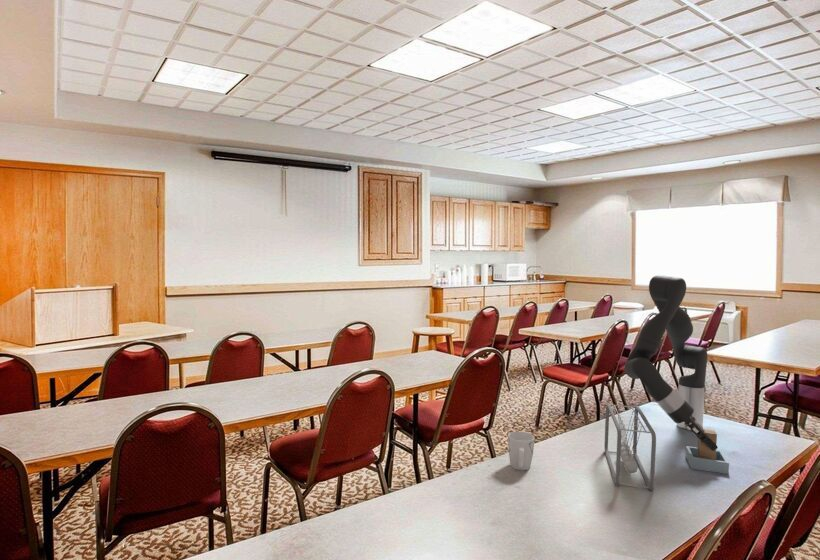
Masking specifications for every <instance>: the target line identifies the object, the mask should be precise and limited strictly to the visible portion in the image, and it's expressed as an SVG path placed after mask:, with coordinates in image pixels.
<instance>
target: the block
mask: <svg viewBox="0 0 820 560" xmlns="http://www.w3.org/2000/svg"><path fill="white" fill-rule="evenodd" d="M700 429H701V428H700ZM703 429H704V430H705V433H706V434H707V435H708V436H709V438H710V439H711V440H712V441H713V442H714V443H715V444H716V445H717V442H718V441H717V440H718V439H717V438H718V434H717V432H716V430H715V429H709V428H704V427H703ZM703 437H705V436H704V435H702V436H701V438H703ZM697 448H698V450H697V454H698V456H699V458H704V459H711V460H716V450H717V449H716V450H714V451H712V450H711V449H710V448H709V447H708V446H707V445H706V444H705V443H703V442H701V440H700V439H699V438H698V437H697Z"/></svg>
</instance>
